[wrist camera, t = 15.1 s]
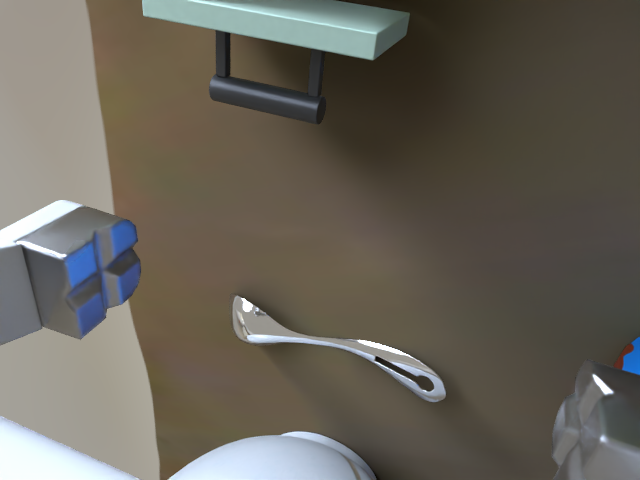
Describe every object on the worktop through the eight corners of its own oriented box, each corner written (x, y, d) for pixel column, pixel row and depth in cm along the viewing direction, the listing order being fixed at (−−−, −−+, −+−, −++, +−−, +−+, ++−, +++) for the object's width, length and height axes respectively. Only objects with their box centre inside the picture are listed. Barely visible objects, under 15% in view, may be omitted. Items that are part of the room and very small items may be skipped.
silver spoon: (448, 395, 37) (432, 435, 39) (458, 362, 40) (442, 402, 42) (212, 297, 42) (212, 338, 45) (235, 274, 45) (234, 314, 48)
